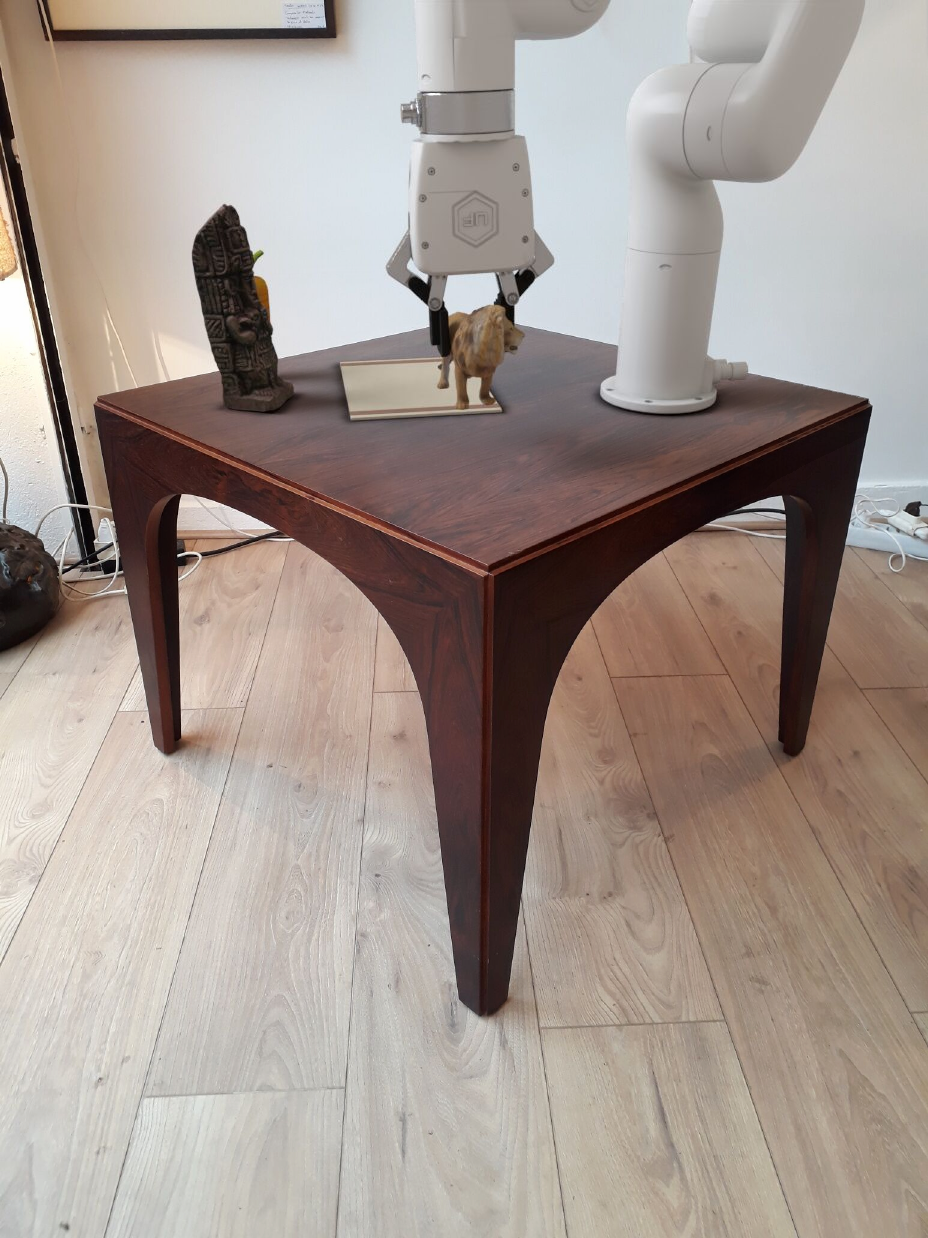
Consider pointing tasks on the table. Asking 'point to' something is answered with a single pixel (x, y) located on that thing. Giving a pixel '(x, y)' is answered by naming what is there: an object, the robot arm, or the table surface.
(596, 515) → the table surface
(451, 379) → the napkin
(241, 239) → the statue
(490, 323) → the lion figurine
